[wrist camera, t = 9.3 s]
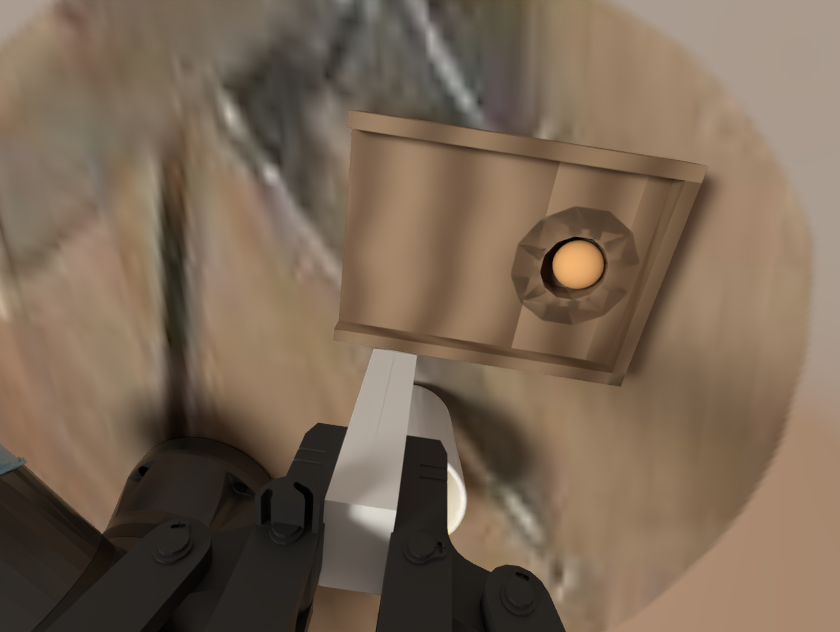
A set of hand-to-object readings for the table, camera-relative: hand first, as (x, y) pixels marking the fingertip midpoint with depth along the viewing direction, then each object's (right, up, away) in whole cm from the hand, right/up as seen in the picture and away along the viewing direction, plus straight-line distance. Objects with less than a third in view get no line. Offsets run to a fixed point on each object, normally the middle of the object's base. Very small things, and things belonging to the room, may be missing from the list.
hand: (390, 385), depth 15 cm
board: (+7, +8, +18) cm, 21 cm away
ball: (+12, +6, +16) cm, 22 cm away
